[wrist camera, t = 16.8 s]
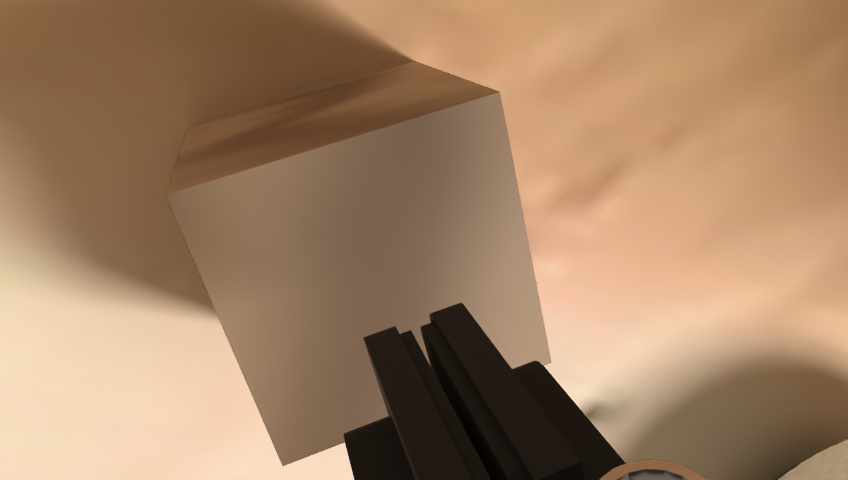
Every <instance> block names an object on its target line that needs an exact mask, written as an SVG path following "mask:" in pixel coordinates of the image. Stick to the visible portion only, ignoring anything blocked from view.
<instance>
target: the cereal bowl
mask: <svg viewBox="0 0 848 480" xmlns="http://www.w3.org/2000/svg"><path fill="white" fill-rule="evenodd" d="M778 480H848V439H847V440H845V441H843V442H840V443H839V444H837V445H834V446H831V447H829V448H827V449H825V450H823V451H821V452H819V453H816V454H815V455H814V456H812V457H810V458H809V459H807V460H806V461H803V462H801V463H800V464H799V465H798V466H797V467H795V468H793V469H791V470H790V471H788V472H787V473H786V474H784V475H783V476H781V477H780V478H779V479H778Z"/></svg>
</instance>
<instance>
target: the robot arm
mask: <svg viewBox="0 0 848 480" xmlns="http://www.w3.org/2000/svg"><path fill="white" fill-rule="evenodd" d="M429 316H430V322H431V323H428V324H426V325H423V326H420V329H421V334H422V337H423V341H424V344H425V348H426V352H427V355H428V359H429V362H430V364H429V363H428V361H427V359H426V357H425V355H424V353H423V351H422V350H421V348H420V346H419V344H418V342H417V340H416V338H415V336H414V335H413V333H412V331H411V330H409V331H406V332H404V333H401V334H399V332H398V330H397V328H396V326H394V327H391V328H388V329H385V330H383V331H380V332H377V333H374V334H371V335H369V336H366V337H363V339H364V342H365V345H366V348H367V351H368V354H369V358H370V361H371V364H372V367H373V370H374V373H375V376H376V379H377V382H378V385H379V388H380V391H381V394H382V397H383V400H384V403H385V406H386V409H387V412H388V417H385V418H383V419H380V420H377V421H375V422H372V423H370V424H367V425H364V426H362V427H359V428H356V429H354V430H351V431H349V432H346V433H344V440H345V444H346V448H347V452H348V456H349V460H350V464H351V468H352V472H353V476H354V479H355V480H707V479H705V478H704V477H703V476H701V475H699V474H698V473H696V472H694V471H693V470H691V469H689V468H688V467H685V466H682V465H679V464H676V463H672V462H669V461H662V460H649V459H647V460H640V461H633V462H628V463H625V462H624V461H623V460H622V458H621V457H620V456H619V455H618V454H617V453H616V451H615V450H614V449H613V448H612V447H611V445H610V444H609V443H608V442H607V441H606V439H605V438H604V437H603V436H602V435H601V434H600V432H599V431H598V430H597V429H596V428H595V426H594V425H593V424H592V423H591V422H590V420H589V419H588V418H587V417H586V416H585V415H584V413H583V412H582V411H581V410H580V409H579V407H578V406H577V405H576V404H575V403H574V401H573V400H572V399H571V398H570V397H569V396H568V394H567V393H566V392H565V391H564V390H563V388H562V387H561V386H560V385H559V384H558V382H557V381H556V380H555V379H554V378H553V377H552V375H551V374H550V373H549V372H548V371H547V369H546V368H545V367H544V366H543V365H542V364H541V363H540V362H539V361H532V362H529V363H527V364H524V365H522V366H519V367H516V368H514V369H512V368H511V367H510V366H509V364H508V363H507V362H506V360H505V359H504V358H503V356H502V355H501V354H500V352H499V351H498V350H497V348H496V347H495V346H494V344H493V343H492V342H491V340H490V339H489V338H488V336H487V335H486V334H485V332H484V331H483V330H482V328H481V327H480V326H479V324H478V323H477V322H476V320H475V319H474V318H473V316H472V315H471V314H470V312H469V311H468V310H467V308H466V307H465V306H464V304H463V303H458V304H455V305H452V306H450V307H447V308H444V309H441V310H438V311H436V312H433V313H430V315H429Z"/></svg>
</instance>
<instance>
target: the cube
mask: <svg viewBox="0 0 848 480" xmlns="http://www.w3.org/2000/svg"><path fill="white" fill-rule="evenodd" d="M165 196H166V198H167V200H168V202H169V205H170V207H171V209H172V212H173V214H174V216H175V219H176V221H177V223H178V226H179V228H180V230H181V232H182V235H183V237H184V239H185V242H186V244H187V246H188V249H189V251H190V253H191V256H192V258H193V260H194V262H195V265H196V267H197V269H198V272H199V274H200V276H201V279H202V281H203V283H204V286H205V288H206V290H207V292H208V295H209V297H210V299H211V302H212V304H213V306H214V309H215V311H216V313H217V316H218V318H219V320H220V322H221V325H222V327H223V329H224V332H225V334H226V336H227V339H228V341H229V343H230V345H231V348H232V350H233V352H234V355H235V357H236V359H237V362H238V364H239V366H240V369H241V371H242V373H243V375H244V378H245V380H246V382H247V385H248V387H249V389H250V392H251V394H252V396H253V399H254V401H255V403H256V405H257V408H258V410H259V412H260V415H261V417H262V419H263V422H264V424H265V426H266V429H267V431H268V433H269V435H270V438H271V440H272V442H273V445H274V447H275V449H276V452H277V454H278V456H279V459H280V461H281V463H282V465H283V466H284V465H287V464H290V463H292V462H295V461H297V460H300V459H303V458H305V457H308V456H310V455H313V454H316V453H318V452H321V451H323V450H326V449H329V448H331V447H334V446H336V445H339V444H342V443H344V442H345V440H344V433H346V432H349V431H351V430H354V429H356V428H359V427H362V426H364V425H367V424H370V423H372V422H375V421H377V420H380V419H383V418H385V417H388V412H387V409H386V406H385V403H384V400H383V397H382V394H381V391H380V388H379V385H378V382H377V379H376V376H375V373H374V370H373V367H372V364H371V361H370V358H369V354H368V351H367V348H366V345H365V342H364V339H363V337H366V336H369V335H371V334H374V333H377V332H380V331H383V330H385V329H388V328H391V327H394V326H396V328H397V330H398V332H399V334H401V333H404V332H406V331H409V330H411V331H412V333H413V335H414V336H415V338H416V340H417V342H418V344H419V346H420V348H421V350H422V351H423V353H424V355H425V357H426V359H427V361H428V363H429V364H430V362H429V359H428V355H427V352H426V348H425V344H424V341H423V337H422V334H421V329H420V326H423V325H426V324H428V323H431V322H430V316H429V315H430V313H433V312H436V311H438V310H441V309H444V308H447V307H450V306H452V305H455V304H458V303H463V304H464V306H465V307H466V308H467V310H468V311H469V312H470V314H471V315H472V316H473V318H474V319H475V320H476V322H477V323H478V324H479V326H480V327H481V328H482V330H483V331H484V332H485V334H486V335H487V336H488V338H489V339H490V340H491V342H492V343H493V344H494V346H495V347H496V348H497V350H498V351H499V352H500V354H501V355H502V356H503V358H504V359H505V360H506V362H507V363H508V364H509V366H510V367H511V368H512V369H514V368H516V367H519V366H522V365H524V364H527V363H529V362H532V361H539V362H540V363H541V364H542V365H543V366H544V365H546V364H549V363H551V358H550V353H549V348H548V342H547V337H546V332H545V327H544V321H543V316H542V311H541V306H540V300H539V295H538V290H537V285H536V279H535V274H534V269H533V264H532V258H531V253H530V248H529V243H528V237H527V232H526V227H525V222H524V216H523V211H522V206H521V201H520V195H519V190H518V185H517V180H516V174H515V169H514V164H513V159H512V153H511V148H510V143H509V138H508V132H507V127H506V122H505V117H504V111H503V106H502V101H501V96H500V92H499V91H496V90H493V89H490V88H488V87H485V86H482V85H479V84H477V83H474V82H471V81H468V80H466V79H463V78H460V77H457V76H455V75H452V74H449V73H446V72H443V71H441V70H438V69H435V68H432V67H430V66H427V65H424V64H421V63H419V62H416V61H414V62H411V63H407V64H404V65H401V66H397V67H394V68H390V69H387V70H384V71H380V72H377V73H373V74H370V75H367V76H363V77H360V78H356V79H353V80H350V81H346V82H343V83H339V84H336V85H333V86H329V87H326V88H322V89H319V90H316V91H312V92H309V93H305V94H302V95H299V96H295V97H292V98H288V99H285V100H281V101H278V102H275V103H271V104H268V105H264V106H261V107H258V108H254V109H251V110H247V111H244V112H241V113H237V114H234V115H230V116H227V117H224V118H220V119H217V120H213V121H210V122H207V123H203V124H200V125H196V126H193V127H190V128H187V131H186V134H185V137H184V140H183V143H182V146H181V149H180V152H179V155H178V158H177V161H176V164H175V167H174V170H173V173H172V176H171V179H170V182H169V185H168V188H167V191H166V194H165Z"/></svg>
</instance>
